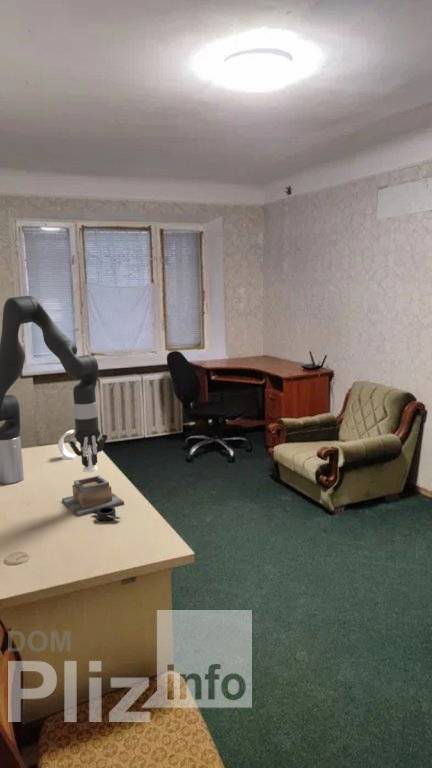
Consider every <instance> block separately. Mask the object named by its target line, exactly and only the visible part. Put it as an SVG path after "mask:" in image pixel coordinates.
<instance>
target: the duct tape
mask: <svg viewBox="0 0 432 768" xmlns="http://www.w3.org/2000/svg"><path fill="white" fill-rule="evenodd" d="M116 513H117V512H116V507H103V508H100V509H98V510H95V511H94V512H93V513H92V514H93V515H94V514H95V515H96V519H97V522H100V523H110V522H113V521H114V520H120V519H121V517H119V516H117V515H116Z"/></svg>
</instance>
